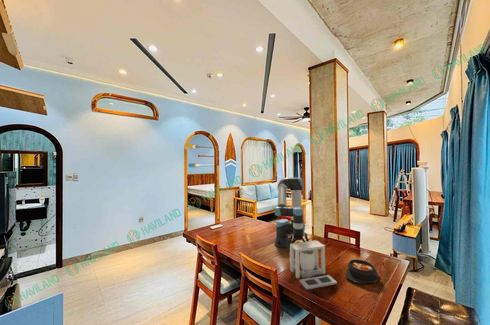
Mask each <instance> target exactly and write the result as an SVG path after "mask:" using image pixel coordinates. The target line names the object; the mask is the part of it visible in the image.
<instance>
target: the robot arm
mask: <svg viewBox="0 0 490 325" xmlns="http://www.w3.org/2000/svg"><path fill="white" fill-rule="evenodd" d="M276 189H277V190H278V193H277V206H275V207H274V215H275V216H276V217H290V218H291V219H290V221H289V220H288V219H286V218H283V219H282V218H281V219H277V220H276V222H275V231H276V232H275V233H276V234H275V239H274V244H273V245H274V246H275V247H276V248H281V249H286V248H287V249H288V252H289V253H290V244H292V243H296V242H297V241H301V242H308V241H310V240H309V237H308V234H307V233H306V232H305V229H306V228H305V227H306V221H304V210H303V207H302V194H301V193H302V192H303V190H304V189H305V188H304V181H303V179H302V177H284V178H282V179H281V180H280V181H279V182H278V184H277V188H276ZM288 190H289V192H291V206H287V191H288ZM304 238H305V239H304Z"/></svg>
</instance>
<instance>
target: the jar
mask: <svg viewBox="0 0 490 325" xmlns="http://www.w3.org/2000/svg"><path fill="white" fill-rule="evenodd" d="M314 254H315V251H314V250H307V251H300V262H299V265H300V268H301V270H300V271H301V272H307V271H313V270H315V268H314V266H315V256H314Z"/></svg>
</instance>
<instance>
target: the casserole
mask: <svg viewBox="0 0 490 325" xmlns="http://www.w3.org/2000/svg"><path fill="white" fill-rule="evenodd" d="M346 265H347V268H346V270H345V271H346V272H345V273H344V276H345V278H347V279H348V280H350V281H352V282H353V283H355V284H356V283H357V284H360V285H365V284H370V283H371V284H372V283H376V282H378V281H379V273H378V271H377V269H376V267H375V266H374V265H373V264H372V263H370V262H369V261H365V260H361V259H350V260H349V261H348V262H347V264H346Z"/></svg>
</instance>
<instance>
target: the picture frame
mask: <svg viewBox="0 0 490 325" xmlns="http://www.w3.org/2000/svg"><path fill="white" fill-rule="evenodd" d="M300 242H301V241H295V243H300ZM288 263H289V264H290V259H289V260H288ZM299 263H300V252H299ZM294 270H295V258H294ZM320 275H321V276H322V275H324V274H323V269H321V267H318V266H317V265H315V266H314V270H313V271H307V272H302V271H301V270H300V277H302V279H305V278H310V277H314V276H320Z"/></svg>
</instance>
